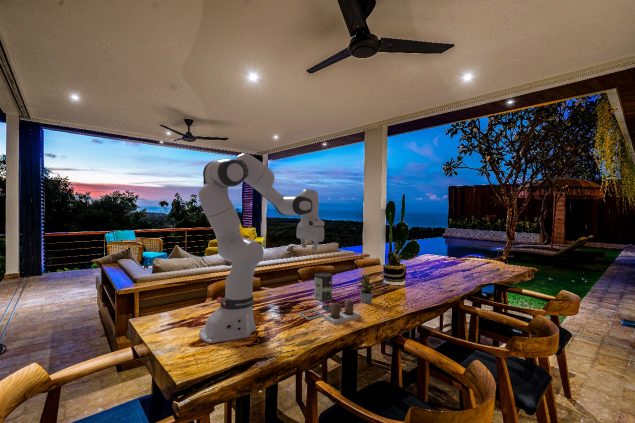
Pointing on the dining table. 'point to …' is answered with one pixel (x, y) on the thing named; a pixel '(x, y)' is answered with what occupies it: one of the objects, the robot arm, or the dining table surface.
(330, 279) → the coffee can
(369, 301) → the house plant
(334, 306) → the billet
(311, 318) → the parts tray
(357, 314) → the plate
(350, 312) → the billet
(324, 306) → the button housing
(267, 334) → the dining table surface
